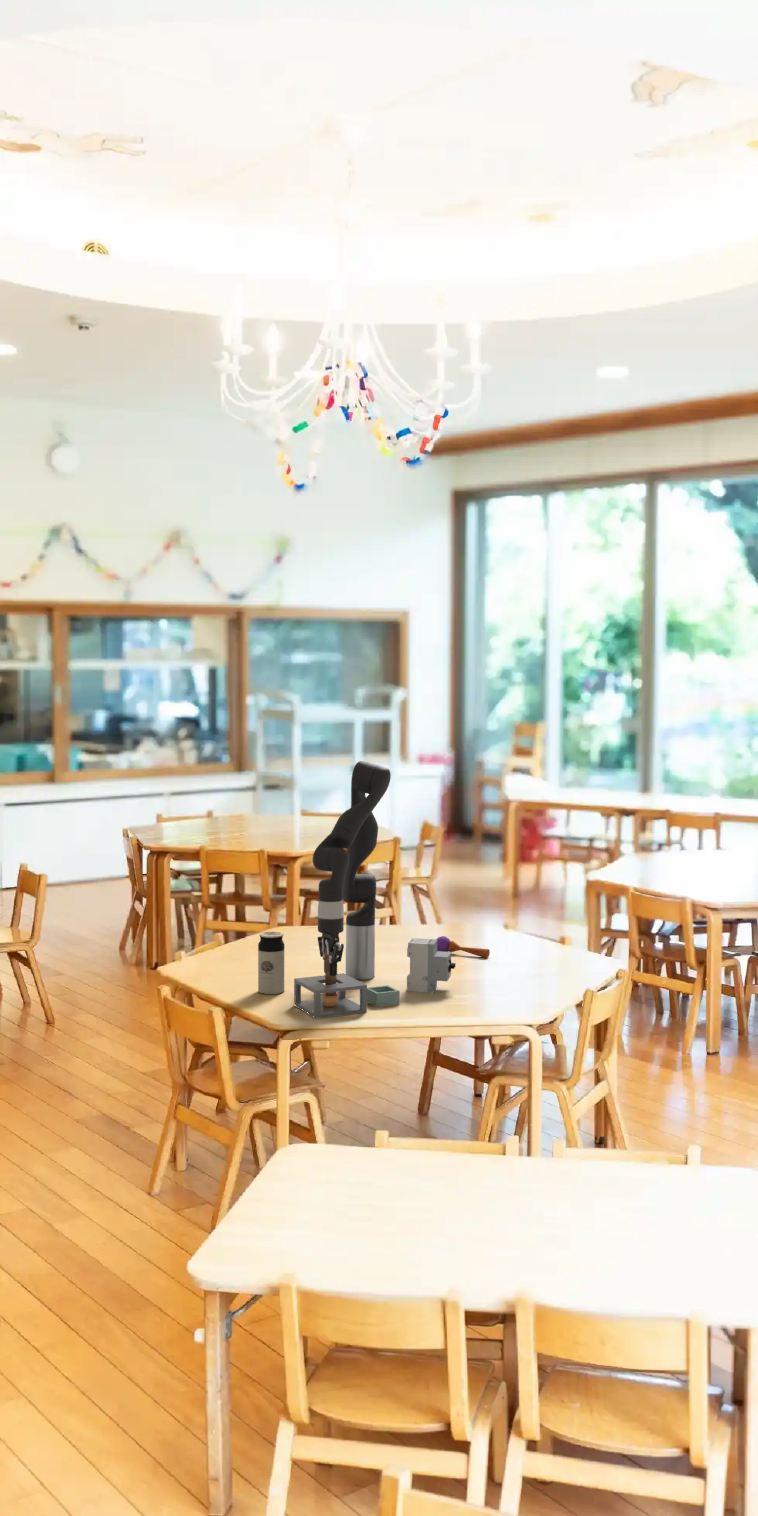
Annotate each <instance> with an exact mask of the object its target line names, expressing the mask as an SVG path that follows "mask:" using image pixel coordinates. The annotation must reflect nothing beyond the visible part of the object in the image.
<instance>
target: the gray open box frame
mask: <svg viewBox="0 0 758 1516" xmlns="http://www.w3.org/2000/svg"><path fill="white" fill-rule="evenodd" d="M302 987H303V988H304V989H306V990H308V991H310V992H311V993H313V999H308V1000H302ZM367 988H368V984H366V983H364V982H362V981H360V980H356V979H354V978H352V977H350V976H348V975H346V973H345V972H344V973H342V972H341V973H337V975H336V984H330V985H325V975H323V974H322V975H315V976H306V977H295V978H294V979H293V992H294V994H293V1001H294V1002H293V1005H294V1004H295V1005H296V1006H297V1007H296V1006H295V1007H296V1008H298V1007H299V1008H301V1009H303V1010H304V1011H306V1012H308V1013H309V1014H310V1015H309V1014H308V1013H307V1014H308V1015H309V1016H311V1015H312V1016H311V1017H313V1016H314V1017H315V1019H323V1018H331V1017H339V1016H347V1015H348V1016H349V1015H356V1014H355V1013H357V1014H364V1013H367V1012H368V1002H367ZM355 990H359V1003H357V1002H355V1001H354V1000H351V999H349V998H348V997H346V996H347V995H346V994H347V993H346V992H348V991H355ZM331 992H336V993H337V992H338V1005H337V1006H333V1007H327V1006H323V998H322V995H323V994H324V993H331ZM299 1008H298V1009H299ZM301 1009H300V1010H301ZM303 1010H302V1011H303ZM304 1011H303V1012H304ZM306 1012H305V1013H306ZM314 1017H313V1018H314Z"/></svg>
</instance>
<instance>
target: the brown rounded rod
mask: <svg viewBox="0 0 758 1516" xmlns="http://www.w3.org/2000/svg"><path fill="white" fill-rule="evenodd" d="M330 952H333V951H330ZM332 956H333V955H332ZM324 974H325V983H324V985H330V984H337V982H336V976H330V975H329V955H327V947H325V973H324ZM336 994H337V992H331V993H325V995H326V996H335V995H336Z"/></svg>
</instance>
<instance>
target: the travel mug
mask: <svg viewBox="0 0 758 1516" xmlns="http://www.w3.org/2000/svg"><path fill="white" fill-rule="evenodd" d="M284 934H285V933H283V932H282V931H274V930H272V931H269V930H268V931H262V932H260V933H258V935H259V939H260V941H259V942H258V943H257V946H258V948H257V949H258V950H257V952H258V953H257V957H258V958H257V959H258V961H257V965H258V967H257V968H258V969H257V970H258V972H257V973H258V974H257V975H258V976H257V979H258V981H257V982H258V983H257V984H258V985H257V990H258V991H257V992H259V993H260V992H261V993H260V994H262V993H265V994H264V995H269V994H273V995H279V994H278V993H280V994H282V993H284V992H285V942H284V940H283V938H284V937H283V936H284Z"/></svg>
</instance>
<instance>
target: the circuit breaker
mask: <svg viewBox="0 0 758 1516" xmlns="http://www.w3.org/2000/svg"><path fill="white" fill-rule="evenodd" d="M406 957H408V958H409V973H408V975H406V992H413V991H418V992H419V993H431V992H433V993H434V992H435V990H436V988H437V986H438V982H448V981H449V979H450V978H451V976H452V970H454V969H455V968H456V962H452V952H442V951H437V938H436V939H435V938H414V937H412V938H411V939H410V940H409V941H408V943H407V949H406ZM418 992H417V993H418Z"/></svg>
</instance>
